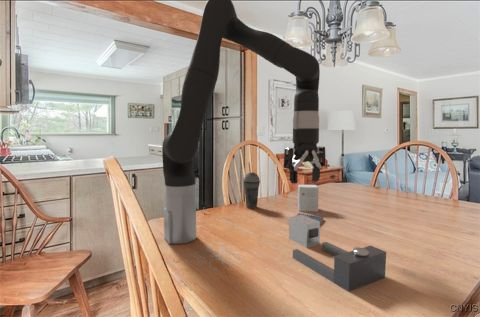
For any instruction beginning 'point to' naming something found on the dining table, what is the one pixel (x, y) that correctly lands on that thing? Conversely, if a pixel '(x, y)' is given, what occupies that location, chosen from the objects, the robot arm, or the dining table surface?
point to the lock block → (304, 230)
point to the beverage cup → (251, 189)
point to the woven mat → (313, 217)
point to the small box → (308, 198)
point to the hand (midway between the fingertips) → (304, 181)
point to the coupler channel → (348, 265)
